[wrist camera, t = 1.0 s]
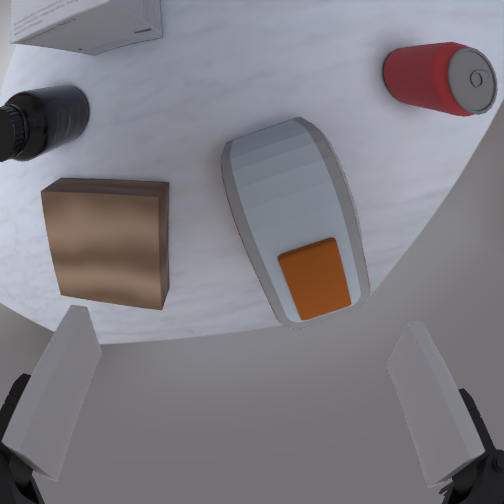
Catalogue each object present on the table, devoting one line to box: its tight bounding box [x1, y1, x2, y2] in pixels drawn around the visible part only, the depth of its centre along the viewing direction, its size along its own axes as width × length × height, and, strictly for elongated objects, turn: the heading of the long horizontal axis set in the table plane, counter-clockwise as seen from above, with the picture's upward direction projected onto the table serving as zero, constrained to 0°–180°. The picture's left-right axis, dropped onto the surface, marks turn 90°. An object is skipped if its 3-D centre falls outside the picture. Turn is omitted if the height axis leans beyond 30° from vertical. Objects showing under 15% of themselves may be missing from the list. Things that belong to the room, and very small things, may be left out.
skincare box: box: [10, 0, 162, 55], centre depth 17 cm, size 8×6×15 cm
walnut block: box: [41, 178, 169, 310], centre depth 34 cm, size 14×14×5 cm
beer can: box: [384, 42, 497, 116], centre depth 21 cm, size 7×7×12 cm
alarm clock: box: [221, 117, 370, 329], centre depth 28 cm, size 15×8×14 cm, turn 21°
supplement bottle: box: [0, 86, 88, 162], centre depth 23 cm, size 7×7×12 cm
